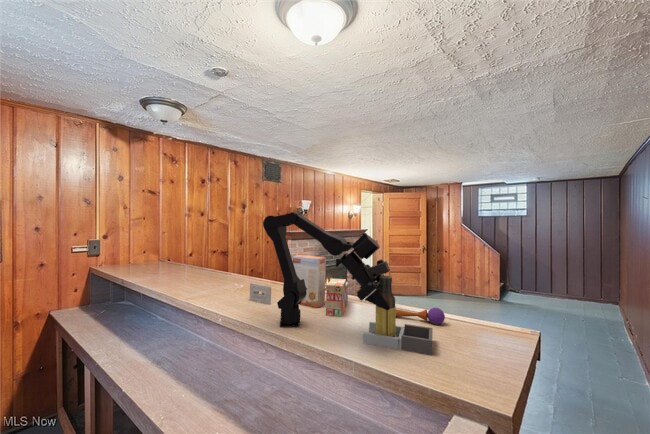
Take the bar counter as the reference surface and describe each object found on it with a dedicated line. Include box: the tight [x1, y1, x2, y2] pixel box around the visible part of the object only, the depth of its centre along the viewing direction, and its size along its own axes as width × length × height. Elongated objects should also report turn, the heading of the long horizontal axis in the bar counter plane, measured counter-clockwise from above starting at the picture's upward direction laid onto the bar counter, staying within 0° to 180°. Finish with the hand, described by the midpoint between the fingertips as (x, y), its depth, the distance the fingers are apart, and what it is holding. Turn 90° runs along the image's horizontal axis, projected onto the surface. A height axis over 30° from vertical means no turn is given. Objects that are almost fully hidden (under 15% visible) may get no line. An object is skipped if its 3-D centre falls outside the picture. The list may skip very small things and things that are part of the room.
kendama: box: [396, 307, 446, 325], centre depth 113 cm, size 6×6×20 cm
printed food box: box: [325, 278, 349, 318], centre depth 125 cm, size 21×6×12 cm, turn 169°
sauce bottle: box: [375, 275, 397, 337], centre depth 94 cm, size 6×6×20 cm
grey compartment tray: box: [362, 321, 434, 356], centre depth 92 cm, size 20×11×4 cm, turn 70°
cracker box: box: [292, 254, 327, 309], centre depth 130 cm, size 14×6×21 cm, turn 58°
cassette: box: [249, 282, 272, 306], centre depth 130 cm, size 12×2×8 cm, turn 58°
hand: (390, 306), depth 93 cm, fingers closed on sauce bottle, 6 cm apart
